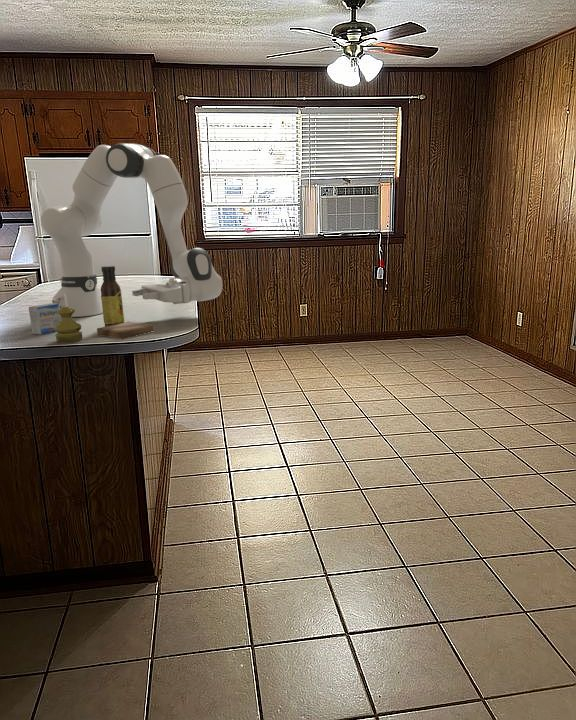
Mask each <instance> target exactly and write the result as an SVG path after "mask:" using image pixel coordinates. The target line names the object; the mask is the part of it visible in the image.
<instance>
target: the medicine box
mask: <svg viewBox="0 0 576 720" xmlns="http://www.w3.org/2000/svg"><path fill="white" fill-rule="evenodd" d="M58 310H59V305H58V304H55V303H52V302H51V303H45V304H39V305H34V306H29V307H28V313H29V319H30V325H31V326H30V327H31V331H32V334H33V335H40V336H42V334H43V335H46V333H47V334H51V333H55V329H54V328H55V326H56V325H58V324H59V322H60V321H61V319H62V318H60V315H59V314H57V311H58ZM50 332H51V333H50Z"/></svg>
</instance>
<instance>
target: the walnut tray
mask: <svg viewBox="0 0 576 720" xmlns="http://www.w3.org/2000/svg"><path fill="white" fill-rule="evenodd" d="M151 331H154V332H155V325H154V324H150V323H149V324H148V323H142V322H134V321H133V322H132V321H126V322H125V321H124V323H120V324H115V325H111V326H106V327H105V326H102V327H98V328H96V333H97V336H101V335H102V336H101V337H107V336H108V337H107V338H113V339H121V340H125V339H129V338H134V337H137V336H136V335H138V336H141V335H140V334H142V335H145V334H144V333H146V334H149V333H148V332H150V333H152V332H151ZM133 336H134V337H133Z"/></svg>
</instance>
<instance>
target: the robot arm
mask: <svg viewBox="0 0 576 720" xmlns="http://www.w3.org/2000/svg"><path fill="white" fill-rule="evenodd" d="M118 177H121V178H125V179H141V178H143V179H144V181H146V183H147V185H148V187H149V190H150V193H151V196H152V199H153V200H154V201H153V202H154V204H155V206H156V210H157V213H158V217H159V221H160V225H161V229H162V232H163V235H164V238H165V239H164V240H165V243H166V246H167V249H168V253H169V257H170V262H169V264H170V265H169V266H170V267H169V268H170V271H171V274H172V276H173V277H171V278H170V279H168V280H169V281H167V282H166V283H165V284H163V283H157V284H155V283H154V284H144V285H141V288H139V289H134V290H132V293H131V294H132V296H134V297H140V296H142V299H143V300H154V301H155V300H156V301H159V302H163V303H172V304H173V305H180V304H189V303H191V302H204V301H210V300H214V299H216V298H218V297H219V296H220V295H221V294H222V291H223V287H224V286H223V284H224V283H223V280H222V277H221V275H219V274H218V273H217V271H216V270H215V268H214V266H213V263H212V258H211V256H210V254H209V253H208V251H206V250H205V249H204V248H202V247H193V248H191V249H187V248H188V247H187V245H186V242H185V239H184V234H183V231H182V220H183V216H184V213H185V212H186V209H187V208H188V205H189V201H188V194H187V191H186V188H185V186H184V182H183V180H182V177H181V175H180V173H179V170H178V169H177V167H176V165H175V164H174V162H173V160H172V159H171V157H170V156H167V155H165V154H157V153H156V152H155V151H154V150H153V149H152V148H150V147H149V146H147V145H144V144H138V143H133V142H132V143H125V142H119V143H116V144H113V145H112V146H111V145H108V144H100V145H97V146H96V147H95V148H94V149H93V150H92V152H91V153H90V154H89V156H88V157H87V158H86V160H85V162H84V164H83V165H82V167H81V168H80V170H79V173H78V174H77V176H76V177H75V180H74V182H73V184H72V192H73V193H74V197H73V200H72V202H71V203H70V204H69V205H55V206H52V207H48V208H46V209H45V210H44V211H43V212H42V214H41V216H40V225H41V228H42V229H43V231H44V232H45V234H47V235H48V236H49V237H50V238H51V239H52V241H53V243H54V245H55V246H56V249H57V251H58V254H59V258H60V264H61V271H62V277H61V278H59V282H61V284H60V286H61V287H60V289H59V290H58V291H57V293H55V294H54V296H53V297H52V299H51V301H52V302H51V303H55V304H58V305H59V309H62V307H69V308H72V309H74V310H75V312H74V313H73V314H72V316H71V317H72V318H76V317H77V318H78V317H90V316H97V315H100V314H103V309H102V300H101V289H100V288H99V287H98V286H97V285H98V277H97V275H96V274H95V264H94V257H93V253H92V251H91V250H90V249H88V248H87V246H86V244H85V242H84V240H83V237H88V236H90V235H93V234H95V233H97V232H98V231H100V228H101V226H102V217H101V210H102V206H103V203H104V201H105V199H106V197H107V196H108V193H109V191H110V190H111V188H112V186H113V184H114V182H115V181H116V179H117V178H118ZM60 319H62V317H61V316H60Z"/></svg>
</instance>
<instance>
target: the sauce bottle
mask: <svg viewBox="0 0 576 720" xmlns="http://www.w3.org/2000/svg"><path fill="white" fill-rule="evenodd" d="M100 268H101V272H102V280H103V282H102V284H101V286H100V293H101V300H102V309H103V313H102V314H103V315H102V316H103V324H104V327H106V326H111V325H115V324H120V323H125V313H124V304H123V296H122V289H121V286H120V285H119V284H118V282H117V281H116V280H117V278H116V267H115V265H102V266H101V267H100Z"/></svg>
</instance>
